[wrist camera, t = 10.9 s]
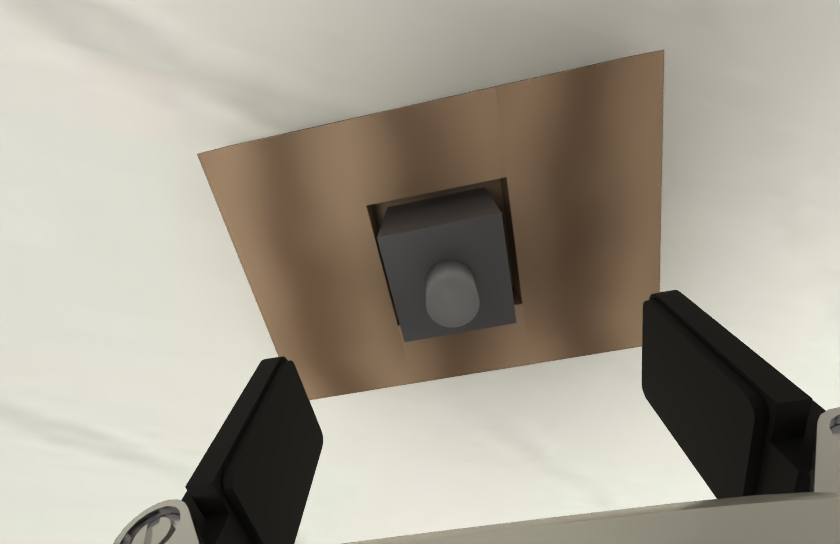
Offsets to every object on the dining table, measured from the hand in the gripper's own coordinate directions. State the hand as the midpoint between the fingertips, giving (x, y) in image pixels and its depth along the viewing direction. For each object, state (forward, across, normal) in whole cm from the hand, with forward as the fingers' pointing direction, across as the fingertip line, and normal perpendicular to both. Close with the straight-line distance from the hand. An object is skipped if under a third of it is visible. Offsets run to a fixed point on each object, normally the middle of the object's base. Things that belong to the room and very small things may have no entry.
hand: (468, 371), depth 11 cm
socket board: (+13, 0, +1) cm, 13 cm away
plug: (+12, 0, 0) cm, 12 cm away
